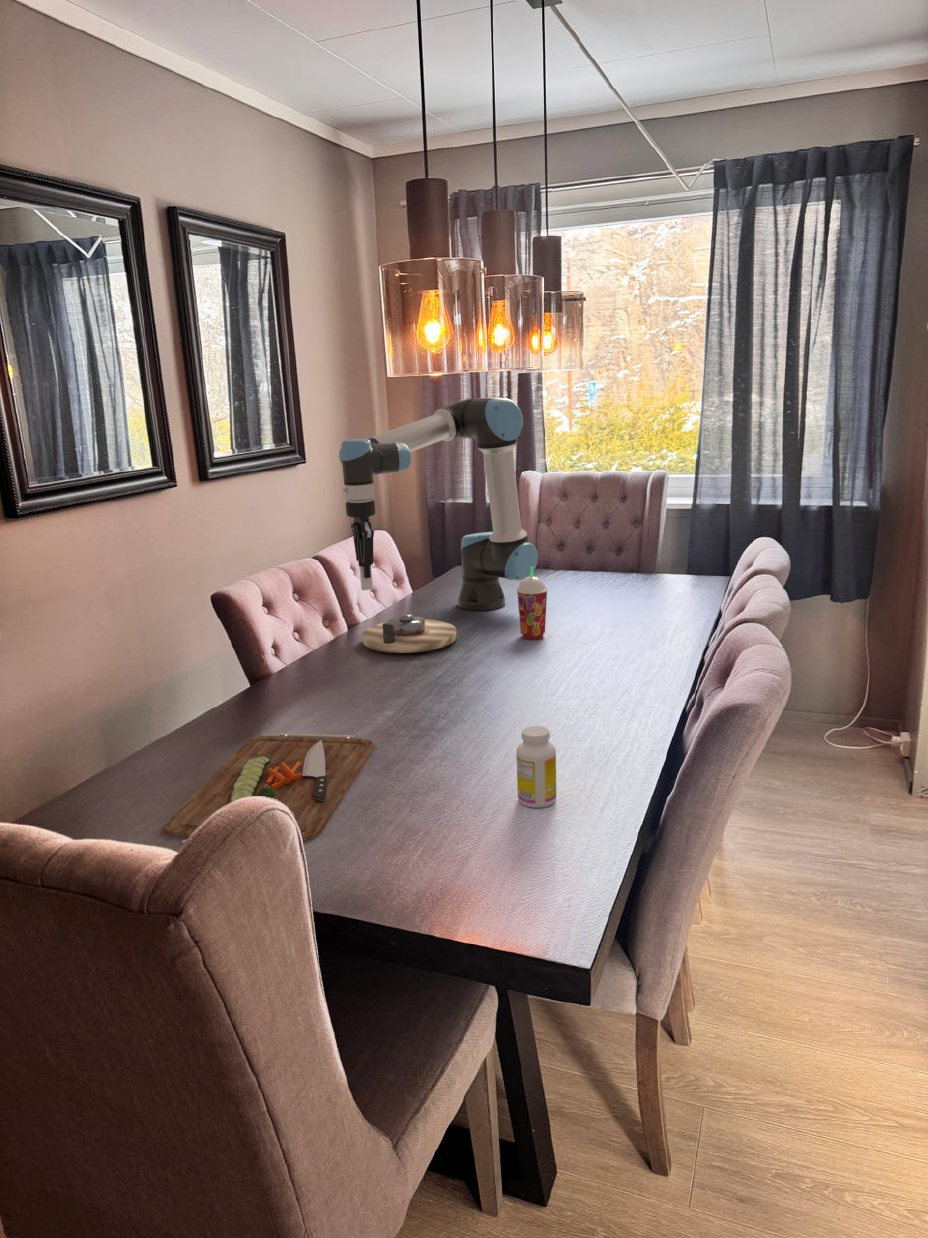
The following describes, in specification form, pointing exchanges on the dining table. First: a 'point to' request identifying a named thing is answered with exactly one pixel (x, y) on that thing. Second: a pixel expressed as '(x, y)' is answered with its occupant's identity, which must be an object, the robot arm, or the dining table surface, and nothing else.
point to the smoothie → (532, 607)
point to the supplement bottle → (536, 768)
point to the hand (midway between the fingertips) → (367, 589)
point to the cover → (408, 625)
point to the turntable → (409, 638)
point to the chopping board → (281, 779)
